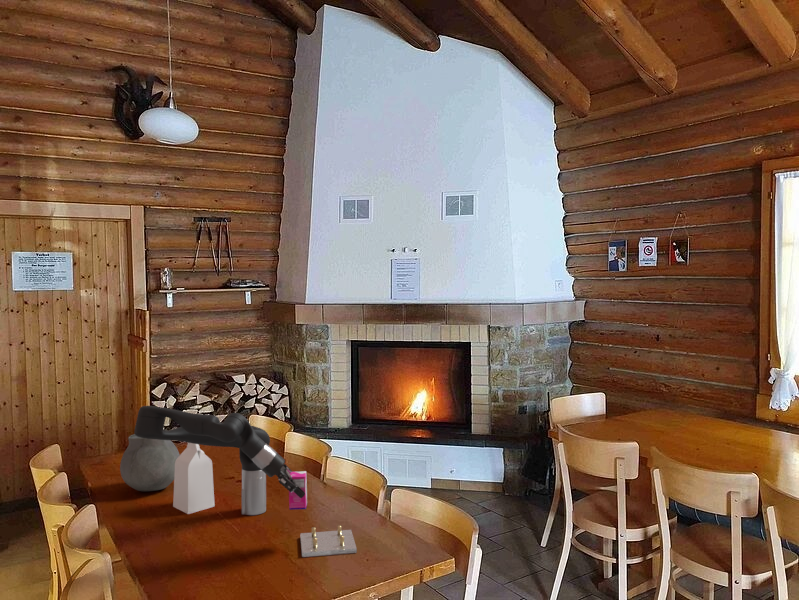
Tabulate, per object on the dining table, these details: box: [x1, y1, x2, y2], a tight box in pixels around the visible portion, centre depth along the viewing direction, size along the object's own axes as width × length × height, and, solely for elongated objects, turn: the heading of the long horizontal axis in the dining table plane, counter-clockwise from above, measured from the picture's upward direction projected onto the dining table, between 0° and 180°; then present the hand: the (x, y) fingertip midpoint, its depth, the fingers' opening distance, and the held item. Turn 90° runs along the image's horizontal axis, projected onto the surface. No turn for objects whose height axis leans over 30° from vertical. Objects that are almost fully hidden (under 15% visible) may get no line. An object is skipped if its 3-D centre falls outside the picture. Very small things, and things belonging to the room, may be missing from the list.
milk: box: [172, 443, 216, 515], centre depth 250 cm, size 12×12×26 cm
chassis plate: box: [299, 524, 358, 558], centre depth 213 cm, size 18×16×4 cm
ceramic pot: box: [119, 428, 181, 492], centre depth 270 cm, size 24×24×25 cm
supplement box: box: [288, 470, 308, 510], centre depth 214 cm, size 6×6×12 cm
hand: (303, 492), depth 214 cm, fingers closed on supplement box, 6 cm apart
